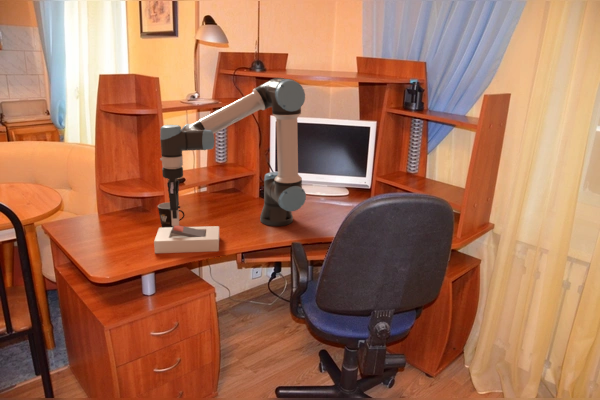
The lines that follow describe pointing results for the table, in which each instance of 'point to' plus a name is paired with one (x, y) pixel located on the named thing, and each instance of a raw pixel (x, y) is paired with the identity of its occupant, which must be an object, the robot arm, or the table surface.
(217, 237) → the breaker panel
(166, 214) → the coffee mug
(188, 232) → the breaker rocker
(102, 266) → the table surface
